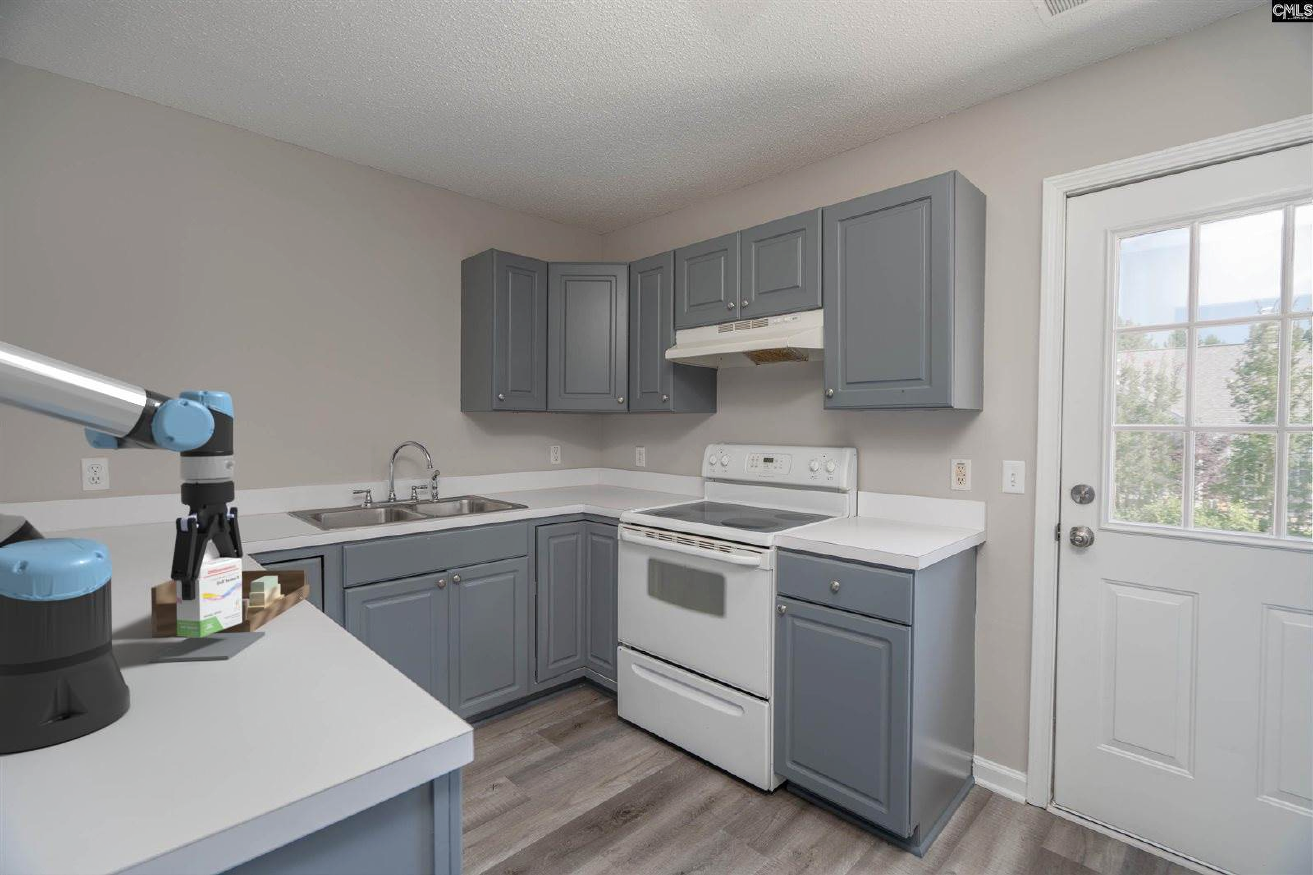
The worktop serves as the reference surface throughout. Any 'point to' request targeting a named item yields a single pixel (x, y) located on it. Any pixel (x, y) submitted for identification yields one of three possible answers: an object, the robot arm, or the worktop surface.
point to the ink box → (214, 596)
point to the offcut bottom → (261, 607)
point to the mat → (208, 647)
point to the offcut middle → (264, 596)
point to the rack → (289, 587)
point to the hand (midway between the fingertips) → (210, 609)
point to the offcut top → (264, 583)
